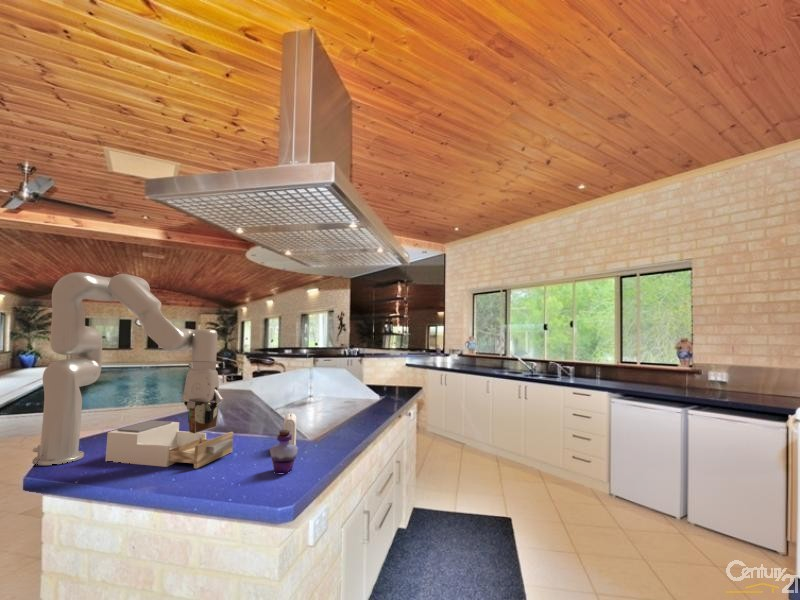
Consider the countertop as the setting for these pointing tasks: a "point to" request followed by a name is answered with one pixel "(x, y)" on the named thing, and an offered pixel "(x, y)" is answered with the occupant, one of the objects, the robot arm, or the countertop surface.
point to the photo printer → (291, 426)
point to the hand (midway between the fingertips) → (200, 421)
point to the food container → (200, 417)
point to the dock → (147, 443)
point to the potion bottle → (283, 453)
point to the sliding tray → (202, 450)
